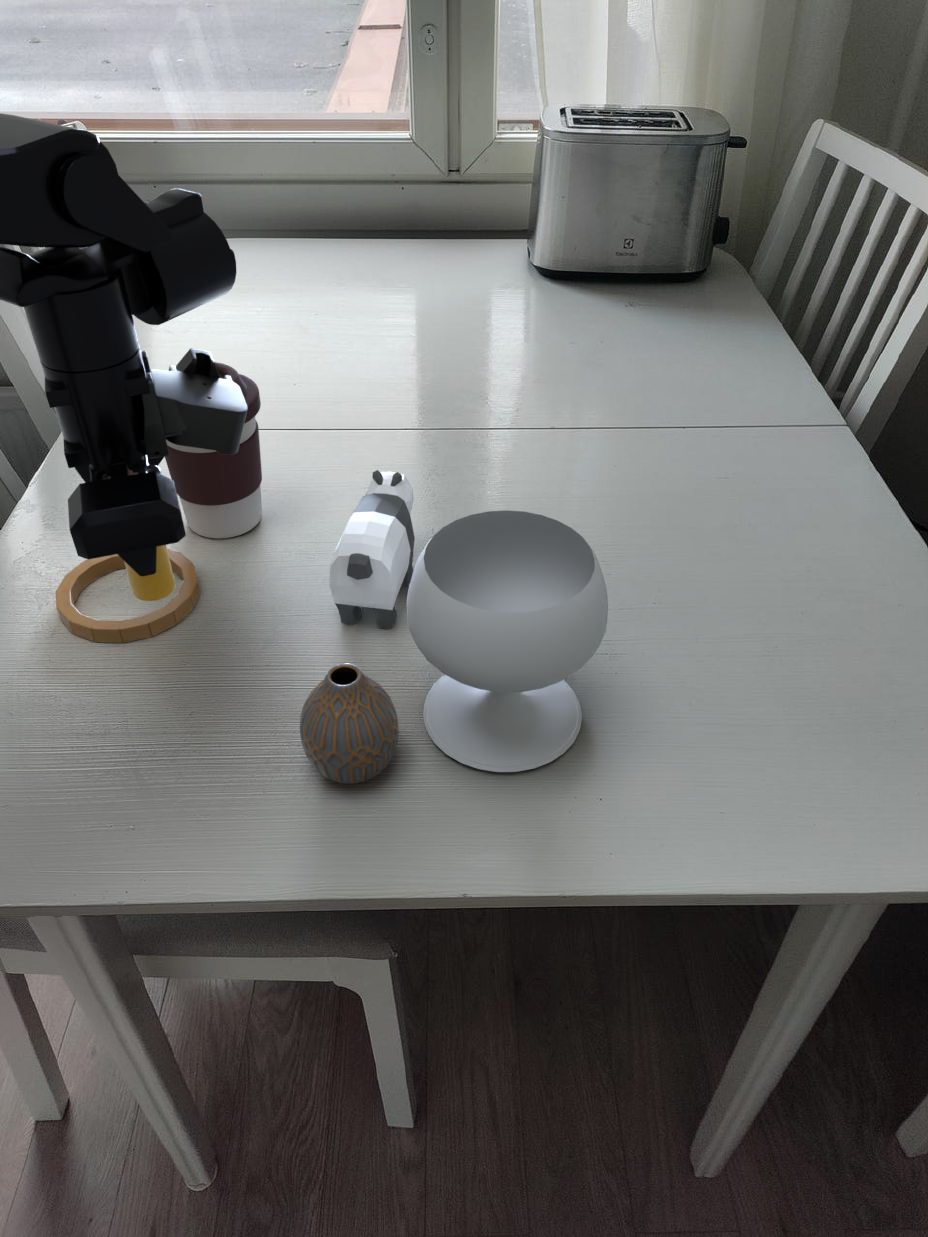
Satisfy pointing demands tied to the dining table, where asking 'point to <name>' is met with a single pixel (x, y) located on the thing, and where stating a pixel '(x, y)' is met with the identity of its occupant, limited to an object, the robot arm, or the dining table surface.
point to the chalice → (506, 635)
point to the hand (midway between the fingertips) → (146, 560)
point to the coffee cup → (222, 475)
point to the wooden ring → (130, 627)
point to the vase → (348, 726)
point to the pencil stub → (153, 577)
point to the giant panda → (375, 551)
